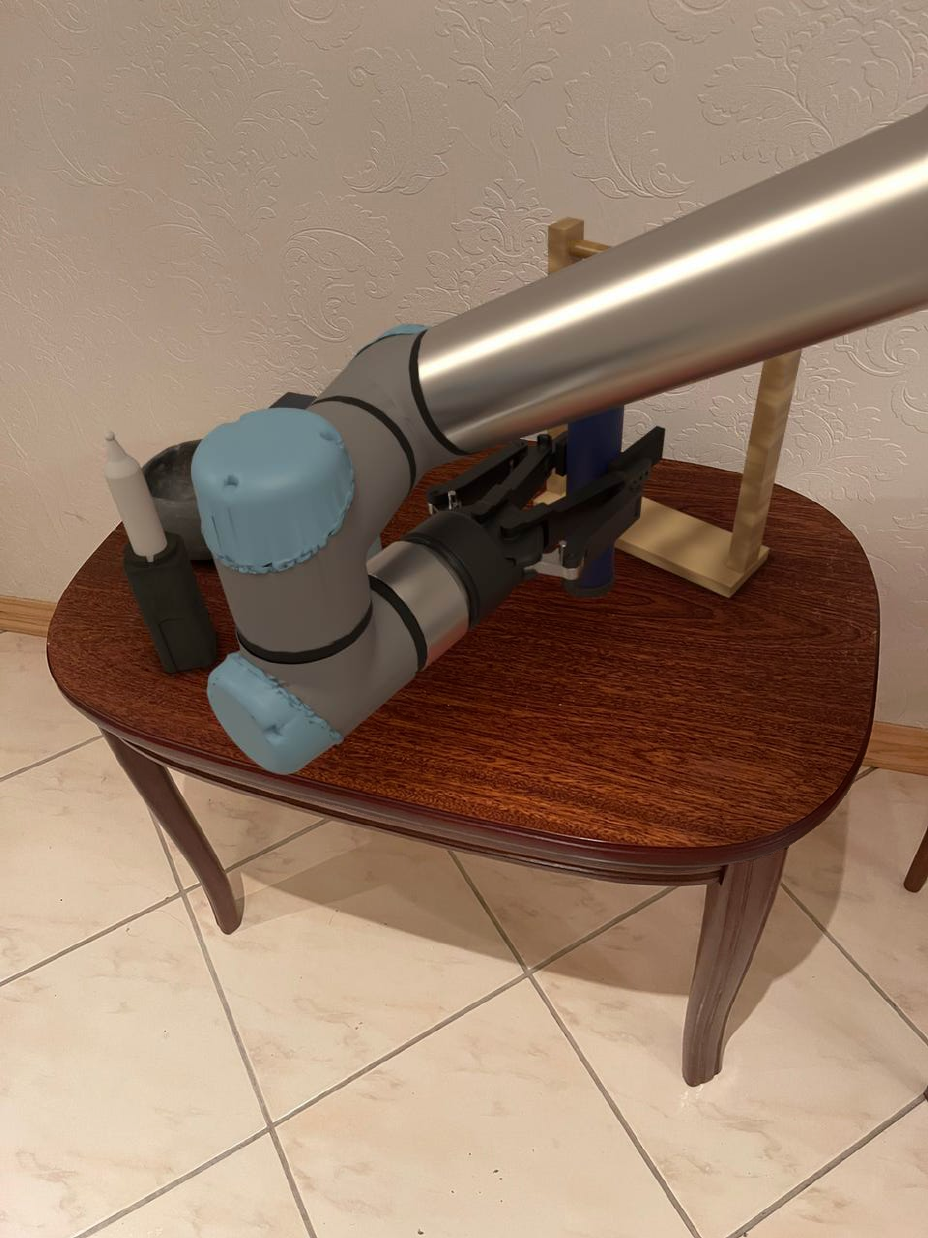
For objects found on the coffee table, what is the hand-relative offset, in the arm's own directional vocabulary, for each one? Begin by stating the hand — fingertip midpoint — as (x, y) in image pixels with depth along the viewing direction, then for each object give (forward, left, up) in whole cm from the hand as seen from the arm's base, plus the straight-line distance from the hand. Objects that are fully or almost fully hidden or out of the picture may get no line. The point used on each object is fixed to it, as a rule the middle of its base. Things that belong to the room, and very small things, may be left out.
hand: (633, 433), depth 69 cm
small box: (+32, +30, -23) cm, 50 cm away
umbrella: (-2, +2, -11) cm, 12 cm away
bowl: (+22, +42, -23) cm, 53 cm away
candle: (+4, +42, -23) cm, 48 cm away
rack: (+17, -6, -23) cm, 30 cm away
